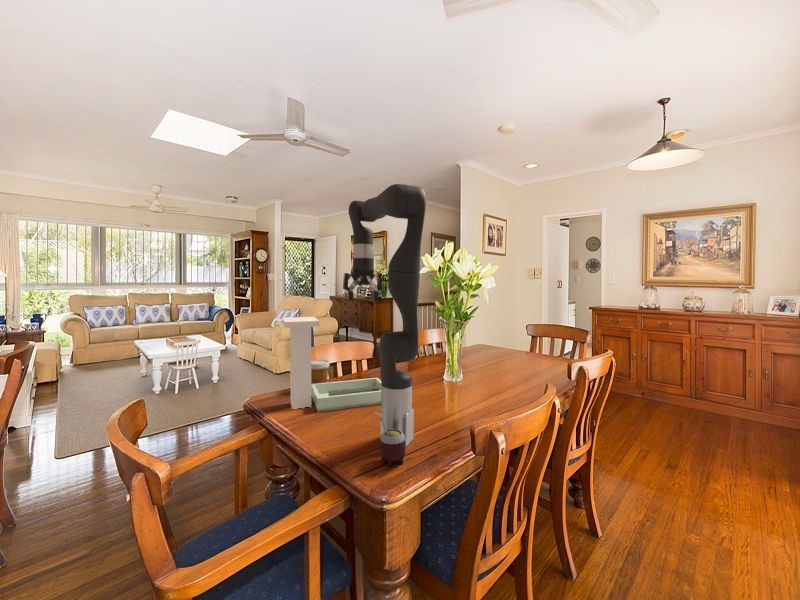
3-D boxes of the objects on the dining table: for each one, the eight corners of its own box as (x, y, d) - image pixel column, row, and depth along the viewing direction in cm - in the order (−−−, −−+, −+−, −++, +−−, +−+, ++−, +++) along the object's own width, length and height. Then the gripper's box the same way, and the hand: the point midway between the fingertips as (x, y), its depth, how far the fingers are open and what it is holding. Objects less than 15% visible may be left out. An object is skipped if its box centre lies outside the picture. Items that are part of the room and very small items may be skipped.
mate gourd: (408, 457, 97) (409, 404, 96) (399, 473, 89) (400, 415, 88) (383, 453, 99) (383, 401, 98) (372, 467, 91) (372, 411, 90)
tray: (377, 388, 154) (377, 377, 154) (391, 402, 138) (391, 390, 137) (311, 396, 144) (311, 384, 144) (317, 412, 127) (317, 398, 127)
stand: (314, 397, 142) (314, 316, 140) (319, 409, 130) (319, 320, 128) (283, 401, 138) (282, 317, 135) (285, 413, 126) (284, 322, 123)
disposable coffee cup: (334, 389, 153) (334, 362, 152) (315, 394, 146) (315, 365, 145) (321, 384, 160) (321, 358, 159) (303, 389, 153) (302, 361, 152)
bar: (376, 393, 146) (376, 386, 146) (378, 395, 143) (378, 388, 143) (328, 398, 138) (328, 391, 138) (329, 401, 136) (329, 393, 135)
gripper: (346, 256, 122) (345, 302, 123) (384, 257, 127) (384, 302, 128) (341, 257, 129) (341, 301, 130) (378, 258, 134) (378, 300, 135)
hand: (362, 301), depth 129 cm, fingers open, 8 cm apart
